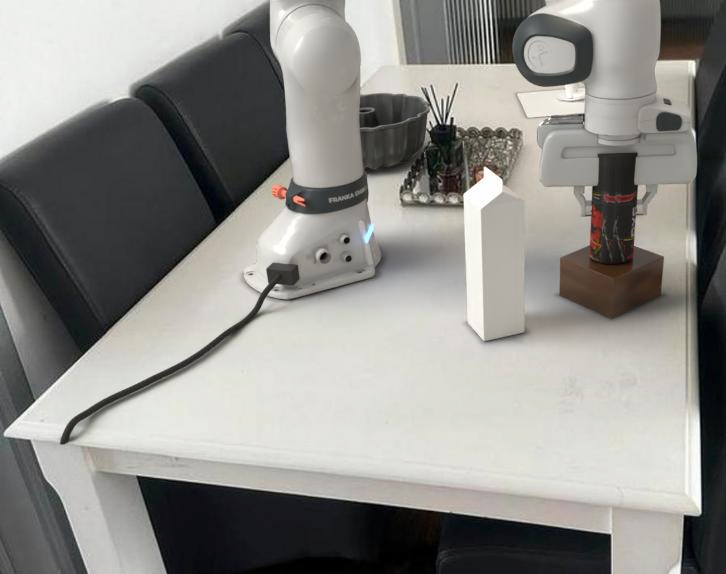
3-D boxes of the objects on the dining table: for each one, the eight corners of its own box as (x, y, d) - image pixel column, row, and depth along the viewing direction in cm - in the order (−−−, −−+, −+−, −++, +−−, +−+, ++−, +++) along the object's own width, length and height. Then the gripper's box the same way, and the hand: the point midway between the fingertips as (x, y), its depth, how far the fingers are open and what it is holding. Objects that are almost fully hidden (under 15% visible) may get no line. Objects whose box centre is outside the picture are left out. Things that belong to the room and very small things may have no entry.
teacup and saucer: (593, 101, 218) (594, 83, 216) (557, 104, 218) (558, 86, 216) (586, 91, 225) (587, 73, 223) (551, 94, 226) (552, 76, 224)
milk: (483, 342, 131) (479, 185, 119) (467, 323, 136) (460, 170, 123) (525, 332, 132) (525, 175, 120) (507, 313, 137) (505, 161, 125)
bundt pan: (327, 137, 213) (322, 91, 208) (444, 137, 206) (442, 89, 200) (287, 180, 192) (280, 130, 187) (416, 181, 185) (413, 129, 180)
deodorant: (633, 263, 132) (641, 156, 124) (589, 263, 134) (593, 157, 125) (632, 246, 137) (639, 141, 129) (589, 246, 138) (593, 142, 130)
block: (611, 318, 133) (613, 278, 130) (559, 295, 140) (560, 257, 137) (660, 295, 137) (664, 256, 134) (607, 274, 144) (609, 236, 141)
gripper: (536, 123, 124) (535, 224, 132) (704, 117, 120) (693, 222, 128) (537, 108, 129) (537, 207, 137) (698, 102, 125) (688, 204, 133)
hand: (613, 214), depth 132 cm, fingers closed on deodorant, 6 cm apart
